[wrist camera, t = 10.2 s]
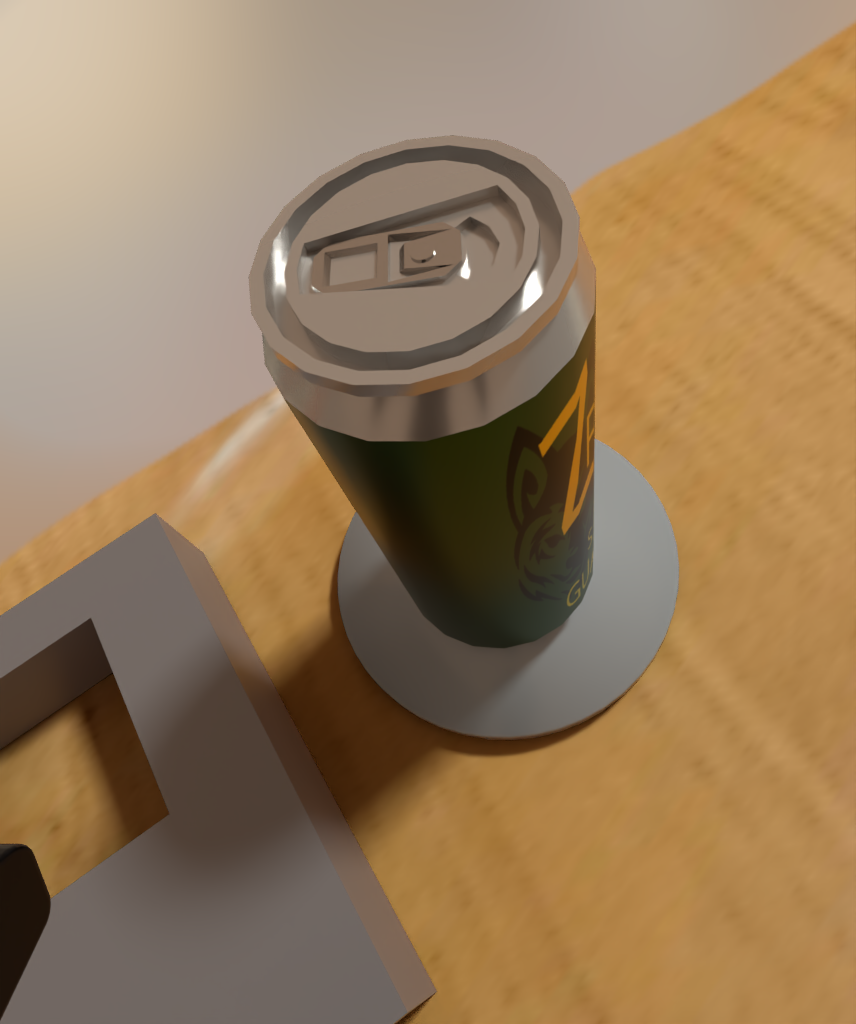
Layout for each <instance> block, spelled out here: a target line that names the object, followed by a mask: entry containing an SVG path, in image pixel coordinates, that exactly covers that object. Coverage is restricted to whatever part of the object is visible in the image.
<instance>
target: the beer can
mask: <svg viewBox="0 0 856 1024" xmlns="http://www.w3.org/2000/svg"><path fill="white" fill-rule="evenodd" d="M249 287H250V300H251V314H252V316H253V317H254V319H255V321H256V322H257V324H258V326H259V328H260V330H261V331H262V337H263V348H264V361H265V365H266V367H267V369H268V371H269V372H270V374H271V376H272V378H273V380H274V381H275V383H276V385H277V387H278V389H279V391H280V392H281V394H282V396H283V398H284V399H285V401H286V403H287V404H288V406H289V407H290V409H291V410H292V412H293V413H294V415H295V417H296V418H297V420H298V421H299V423H300V424H301V426H302V428H303V429H304V431H305V432H306V434H307V435H308V437H309V438H310V440H311V442H312V443H313V445H314V446H315V448H316V449H317V451H318V453H319V454H320V456H321V457H322V459H323V460H324V462H325V463H326V465H327V467H328V468H329V470H330V471H331V473H332V474H333V476H334V477H335V479H336V481H337V482H338V484H339V485H340V487H341V488H342V490H343V492H344V493H345V495H346V496H347V498H348V499H349V501H350V502H351V504H352V506H353V507H354V509H355V510H356V512H357V513H358V515H359V516H360V518H361V520H362V521H363V523H364V524H365V526H366V527H367V529H368V531H369V532H370V534H371V535H372V537H373V538H374V540H375V541H376V543H377V545H378V546H379V548H380V549H381V551H382V552H383V554H384V555H385V557H386V559H387V560H388V562H389V563H390V565H391V566H392V568H393V570H394V571H395V573H396V574H397V576H398V577H399V579H400V580H401V582H402V584H403V585H404V587H405V588H406V590H407V591H408V593H409V594H410V596H411V598H412V599H413V601H414V602H415V604H416V605H417V607H418V609H419V610H420V612H421V613H422V615H423V616H424V617H425V618H426V619H427V620H428V621H430V622H431V623H432V624H433V625H434V626H435V627H436V628H438V629H439V630H440V631H441V632H442V633H443V634H445V635H446V636H449V637H451V638H454V639H456V640H459V641H461V642H464V643H466V644H468V645H471V646H475V647H489V648H503V649H505V648H509V647H513V646H517V645H521V644H526V643H530V642H534V641H536V640H538V639H540V638H541V637H543V636H545V635H546V634H548V633H550V632H551V631H553V630H555V629H556V628H558V627H559V626H561V625H562V624H563V623H564V622H565V621H566V620H567V619H568V617H569V616H570V615H571V614H572V613H573V612H574V610H575V609H576V608H577V607H578V606H579V605H580V603H581V602H582V600H583V598H584V595H585V593H586V590H587V588H588V585H589V583H590V580H591V578H592V575H593V552H594V447H595V327H596V268H595V265H594V263H593V261H592V258H591V256H590V254H589V251H588V249H587V247H586V244H585V242H584V239H583V237H582V235H581V232H580V217H579V215H578V213H577V210H576V208H575V206H574V203H573V201H572V199H571V196H570V194H569V192H568V189H567V187H566V185H565V182H563V181H562V180H561V179H560V178H559V177H558V176H557V175H556V174H555V173H553V172H552V171H551V170H550V169H549V168H548V167H547V166H546V165H545V164H544V163H542V162H541V161H540V160H539V159H538V158H537V157H536V156H533V155H531V154H528V153H526V152H524V151H521V150H519V149H516V148H514V147H511V146H509V145H507V144H504V143H502V142H499V141H496V140H487V139H479V138H471V137H463V136H454V135H451V136H442V137H432V138H422V139H412V140H405V141H402V142H399V143H396V144H392V145H389V146H386V147H382V148H380V149H376V150H373V151H370V152H367V153H363V154H360V155H358V156H356V157H355V158H353V159H351V160H349V161H347V162H346V163H344V164H342V165H340V166H338V167H336V168H335V169H333V170H331V171H329V172H327V173H325V174H323V175H322V176H320V177H318V178H317V179H316V180H315V181H314V182H313V183H311V184H310V185H309V186H308V187H307V188H305V189H304V190H303V191H302V192H301V193H300V194H298V195H297V196H296V197H295V198H294V199H293V200H292V201H290V202H289V203H288V204H287V205H286V206H285V207H284V208H283V209H282V211H281V212H280V214H279V215H278V217H277V218H276V219H275V221H274V222H273V224H272V225H271V226H270V228H269V229H268V231H267V232H266V233H265V235H264V236H263V238H262V239H261V241H260V244H259V247H258V250H257V253H256V256H255V259H254V263H253V266H252V269H251V272H250V275H249Z"/></svg>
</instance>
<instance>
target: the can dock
mask: <svg viewBox="0 0 856 1024" xmlns="http://www.w3.org/2000/svg"><path fill="white" fill-rule="evenodd" d="M111 673H113V674H114V676H115V679H116V681H117V684H118V686H119V689H120V691H121V694H122V696H123V699H124V701H125V704H126V706H127V709H128V711H129V714H130V716H131V719H132V721H133V724H134V726H135V729H136V731H137V734H138V736H139V739H140V741H141V744H142V746H143V749H144V751H145V754H146V756H147V759H148V761H149V764H150V766H151V769H152V771H153V774H154V776H155V779H156V781H157V784H158V786H159V789H160V791H161V794H162V797H163V799H164V802H165V804H166V807H167V809H168V812H169V815H167V816H166V817H165V818H163V819H162V820H160V821H159V822H158V823H156V824H155V825H153V826H152V827H151V828H149V829H148V830H146V831H145V832H144V833H142V834H141V835H139V836H138V837H137V838H135V839H134V840H132V841H131V842H130V843H128V844H127V845H125V846H124V847H123V848H121V849H120V850H118V851H117V852H116V853H114V854H113V855H111V856H110V857H109V858H107V859H106V860H104V861H103V862H102V863H100V864H99V865H97V866H96V867H95V868H93V869H92V870H90V871H89V872H88V873H86V874H85V875H83V876H82V877H81V878H79V879H78V880H76V881H75V882H74V883H72V884H71V885H69V886H68V887H67V888H65V889H64V890H62V891H61V892H60V893H58V894H57V895H55V896H54V897H53V898H51V909H50V915H49V919H48V922H47V924H46V926H45V928H44V930H43V933H42V935H41V937H40V939H39V941H38V943H37V945H36V947H35V949H34V951H33V953H32V956H31V958H30V960H29V962H28V964H27V966H26V968H25V970H24V972H23V974H22V977H21V979H20V981H19V983H18V985H17V987H16V989H15V991H14V993H13V995H12V998H11V1000H10V1002H9V1004H8V1006H7V1008H6V1010H5V1012H4V1014H3V1016H2V1018H1V1021H0V1024H396V1023H397V1022H398V1021H400V1020H401V1019H402V1018H403V1017H405V1016H406V1015H407V1014H409V1013H410V1012H411V1011H412V1010H414V1009H415V1008H416V1007H418V1006H419V1005H420V1004H421V1003H423V1002H424V1001H425V1000H427V999H428V998H429V997H430V996H432V995H433V994H434V993H436V992H437V991H436V989H435V987H434V985H433V983H432V981H431V979H430V978H429V976H428V974H427V972H426V970H425V968H424V966H423V964H422V963H421V961H420V959H419V957H418V955H417V953H416V951H415V949H414V948H413V946H412V944H411V942H410V940H409V938H408V936H407V934H406V932H405V931H404V929H403V927H402V925H401V923H400V921H399V919H398V917H397V916H396V914H395V912H394V910H393V908H392V906H391V904H390V902H389V901H388V899H387V897H386V895H385V893H384V891H383V889H382V887H381V886H380V884H379V882H378V880H377V878H376V876H375V874H374V872H373V871H372V869H371V867H370V865H369V863H368V861H367V859H366V857H365V856H364V854H363V852H362V850H361V848H360V846H359V844H358V842H357V841H356V839H355V837H354V835H353V833H352V831H351V829H350V827H349V825H348V824H347V822H346V820H345V818H344V816H343V814H342V812H341V810H340V809H339V807H338V805H337V803H336V801H335V799H334V797H333V795H332V794H331V792H330V790H329V788H328V786H327V784H326V782H325V780H324V779H323V777H322V775H321V773H320V771H319V769H318V767H317V765H316V764H315V762H314V760H313V758H312V756H311V754H310V752H309V750H308V749H307V747H306V745H305V743H304V741H303V739H302V737H301V735H300V734H299V732H298V730H297V728H296V726H295V724H294V722H293V720H292V718H291V717H290V715H289V713H288V711H287V709H286V707H285V705H284V703H283V702H282V700H281V698H280V696H279V694H278V692H277V690H276V688H275V687H274V685H273V683H272V681H271V679H270V677H269V675H268V673H267V672H266V670H265V668H264V666H263V664H262V662H261V660H260V658H259V657H258V655H257V653H256V651H255V649H254V647H253V645H252V643H251V642H250V640H249V638H248V636H247V634H246V632H245V630H244V628H243V626H242V625H241V623H240V621H239V619H238V617H237V615H236V613H235V611H234V610H233V608H232V606H231V604H230V602H229V600H228V598H227V596H226V595H225V593H224V591H223V589H222V587H221V585H220V583H219V581H218V580H217V578H216V576H215V574H214V572H213V570H212V568H211V566H210V565H209V563H208V561H207V559H206V557H205V555H204V553H203V552H201V551H200V550H199V549H198V548H197V547H195V546H194V545H193V544H192V543H191V542H189V541H188V540H187V539H186V538H185V537H183V536H182V535H181V534H180V533H178V532H177V531H176V530H175V529H174V528H172V527H171V526H170V525H169V524H168V523H166V522H165V521H164V520H163V519H162V518H160V517H159V516H158V515H157V514H156V513H155V514H153V515H152V516H150V517H149V518H147V519H146V520H144V521H143V522H141V523H140V524H138V525H137V526H135V527H134V528H132V529H131V530H129V531H128V532H126V533H125V534H123V535H122V536H120V537H119V538H117V539H116V540H114V541H113V542H111V543H110V544H108V545H107V546H105V547H103V548H102V549H100V550H99V551H97V552H96V553H94V554H93V555H91V556H90V557H88V558H87V559H85V560H84V561H82V562H81V563H79V564H78V565H76V566H75V567H73V568H72V569H70V570H69V571H67V572H66V573H64V574H63V575H61V576H60V577H58V578H57V579H55V580H54V581H52V582H51V583H49V584H48V585H46V586H45V587H43V588H42V589H40V590H38V591H37V592H35V593H34V594H32V595H31V596H29V597H28V598H26V599H25V600H23V601H22V602H20V603H19V604H17V605H16V606H14V607H13V608H11V609H10V610H8V611H7V612H5V613H4V614H2V615H1V616H0V749H2V748H3V747H4V746H6V745H7V744H9V743H10V742H12V741H13V740H15V739H16V738H18V737H19V736H21V735H22V734H24V733H25V732H26V731H28V730H29V729H31V728H32V727H34V726H35V725H37V724H38V723H40V722H41V721H43V720H44V719H45V718H47V717H48V716H50V715H51V714H53V713H54V712H56V711H57V710H59V709H60V708H62V707H63V706H64V705H66V704H67V703H69V702H70V701H72V700H73V699H75V698H76V697H78V696H79V695H81V694H82V693H84V692H85V691H86V690H88V689H89V688H91V687H92V686H94V685H95V684H97V683H98V682H100V681H101V680H103V679H104V678H105V677H107V676H108V675H110V674H111Z"/></svg>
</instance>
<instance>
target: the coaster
mask: <svg viewBox="0 0 856 1024" xmlns="http://www.w3.org/2000/svg"><path fill="white" fill-rule="evenodd" d="M678 580H679V562H678V553H677V545H676V541H675V537H674V533H673V530H672V526H671V523H670V521H669V518H668V516H667V514H666V511H665V509H664V507H663V505H662V503H661V501H660V500H659V498H658V496H657V495H656V493H655V491H654V490H653V488H652V487H651V486H650V484H649V483H648V482H647V481H646V479H645V478H644V477H643V476H642V474H641V473H640V472H639V471H638V470H637V469H636V468H635V467H634V466H633V465H632V464H631V463H629V462H628V461H627V460H626V459H625V458H624V457H623V456H621V455H620V454H619V453H617V452H616V451H614V450H613V449H612V448H610V447H609V446H607V445H606V444H604V443H602V442H600V441H598V440H597V439H595V447H594V552H593V575H592V578H591V580H590V583H589V585H588V588H587V590H586V593H585V595H584V598H583V600H582V602H581V603H580V605H579V606H578V607H577V608H576V609H575V610H574V612H573V613H572V614H571V615H570V616H569V617H568V619H567V620H566V621H565V622H564V623H563V624H562V625H561V626H559V627H558V628H556V629H555V630H553V631H551V632H550V633H548V634H546V635H545V636H543V637H541V638H540V639H538V640H536V641H534V642H530V643H526V644H521V645H517V646H513V647H509V648H505V649H503V648H489V647H475V646H471V645H468V644H466V643H464V642H461V641H459V640H456V639H454V638H451V637H449V636H446V635H445V634H443V633H442V632H441V631H440V630H439V629H438V628H436V627H435V626H434V625H433V624H432V623H431V622H430V621H428V620H427V619H426V618H425V617H424V616H423V615H422V613H421V612H420V610H419V609H418V607H417V605H416V604H415V602H414V601H413V599H412V598H411V596H410V594H409V593H408V591H407V590H406V588H405V587H404V585H403V584H402V582H401V580H400V579H399V577H398V576H397V574H396V573H395V571H394V570H393V568H392V566H391V565H390V563H389V562H388V560H387V559H386V557H385V555H384V554H383V552H382V551H381V549H380V548H379V546H378V545H377V543H376V541H375V540H374V538H373V537H372V535H371V534H370V532H369V531H368V529H367V527H366V526H365V524H364V523H363V521H362V520H361V518H360V516H359V515H358V513H357V512H356V513H355V515H354V517H353V518H352V521H351V523H350V526H349V528H348V531H347V533H346V536H345V539H344V543H343V547H342V551H341V555H340V561H339V569H338V599H339V605H340V612H341V617H342V620H343V624H344V627H345V631H346V634H347V636H348V639H349V641H350V643H351V645H352V647H353V650H354V652H355V654H356V655H357V657H358V658H359V660H360V662H361V663H362V665H363V666H364V668H365V669H366V671H367V672H368V673H369V675H370V676H371V677H372V678H373V679H374V680H375V681H376V683H377V684H378V685H379V686H380V687H381V688H382V689H383V690H384V691H385V692H386V693H387V694H389V695H390V696H391V697H392V698H393V699H394V700H395V701H397V702H398V703H399V704H400V705H401V706H402V707H404V708H405V709H407V710H408V711H410V712H411V713H413V714H414V715H416V716H417V717H419V718H421V719H422V720H424V721H427V722H429V723H431V724H433V725H435V726H437V727H439V728H441V729H444V730H448V731H451V732H454V733H457V734H461V735H464V736H469V737H475V738H481V739H487V740H519V739H528V738H537V737H541V736H545V735H549V734H553V733H557V732H561V731H563V730H566V729H568V728H571V727H573V726H576V725H578V724H581V723H583V722H585V721H587V720H588V719H590V718H592V717H594V716H595V715H597V714H599V713H601V712H602V711H604V710H605V709H607V708H608V707H609V706H611V705H612V704H613V703H614V702H616V701H617V700H618V699H620V698H621V697H622V696H624V694H625V693H626V692H627V691H628V690H629V689H630V688H631V687H632V686H633V685H634V684H635V683H636V682H637V681H638V680H639V679H640V678H641V676H642V675H643V674H644V672H645V671H646V670H647V668H648V667H649V665H650V664H651V663H652V661H653V660H654V658H655V656H656V654H657V652H658V651H659V649H660V647H661V645H662V643H663V641H664V639H665V636H666V633H667V631H668V628H669V625H670V622H671V619H672V616H673V613H674V608H675V603H676V598H677V592H678Z"/></svg>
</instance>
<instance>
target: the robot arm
mask: <svg viewBox="0 0 856 1024" xmlns="http://www.w3.org/2000/svg"><path fill="white" fill-rule="evenodd" d="M50 909H51V899H50V895H49V892H48V890H47V887H46V885H45V882H44V879H43V877H42V874H41V872H40V869H39V866H38V864H37V861H36V859H35V856H34V854H33V852H32V850H31V849H30V848H29V847H28V846H26V845H23V844H0V1021H1V1018H2V1016H3V1014H4V1012H5V1010H6V1008H7V1006H8V1004H9V1002H10V1000H11V998H12V995H13V993H14V991H15V989H16V987H17V985H18V983H19V981H20V979H21V977H22V974H23V972H24V970H25V968H26V966H27V964H28V962H29V960H30V958H31V956H32V953H33V951H34V949H35V947H36V945H37V943H38V941H39V939H40V937H41V935H42V933H43V930H44V928H45V926H46V924H47V922H48V919H49V915H50Z"/></svg>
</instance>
